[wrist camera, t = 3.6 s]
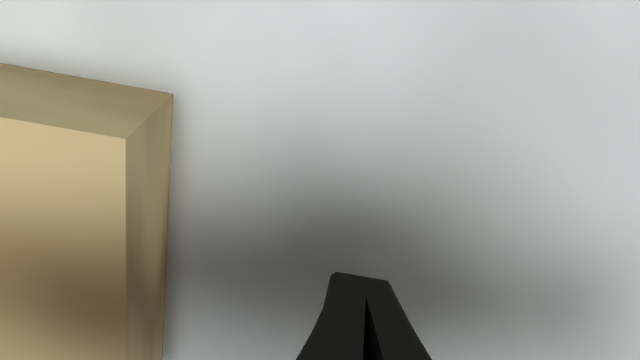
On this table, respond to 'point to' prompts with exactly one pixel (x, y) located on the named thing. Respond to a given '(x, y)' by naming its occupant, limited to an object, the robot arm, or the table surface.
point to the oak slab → (82, 217)
